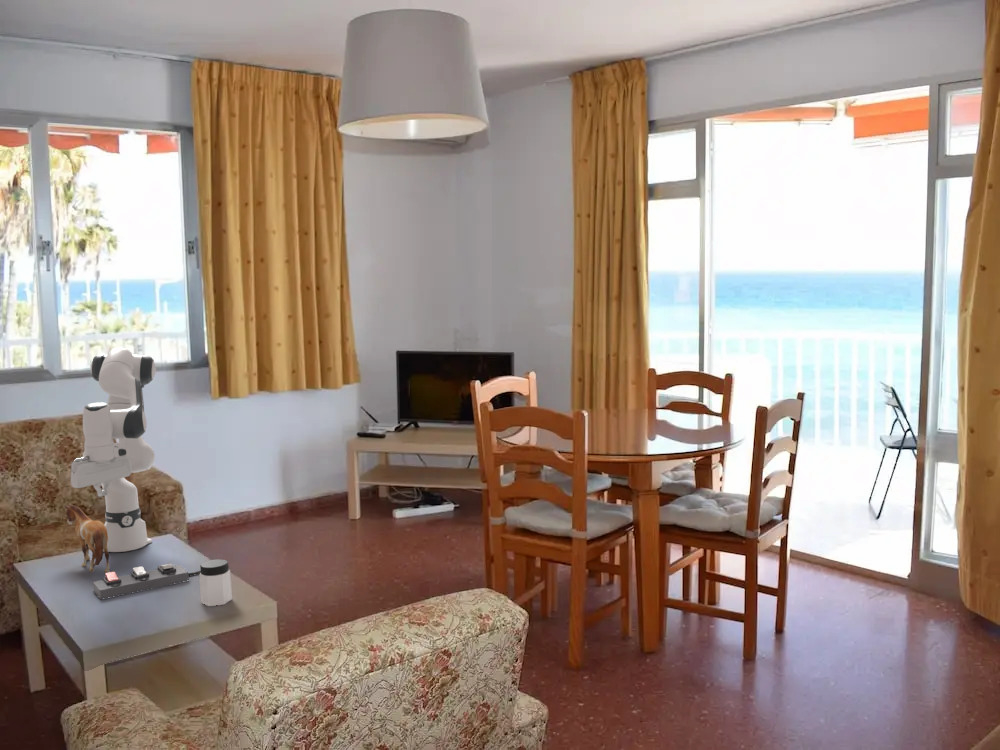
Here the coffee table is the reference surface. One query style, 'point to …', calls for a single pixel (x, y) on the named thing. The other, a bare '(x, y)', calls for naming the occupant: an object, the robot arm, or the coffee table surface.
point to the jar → (215, 582)
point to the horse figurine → (89, 536)
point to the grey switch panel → (141, 581)
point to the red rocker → (111, 576)
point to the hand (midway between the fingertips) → (103, 495)
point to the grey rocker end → (166, 566)
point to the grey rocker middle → (139, 571)
